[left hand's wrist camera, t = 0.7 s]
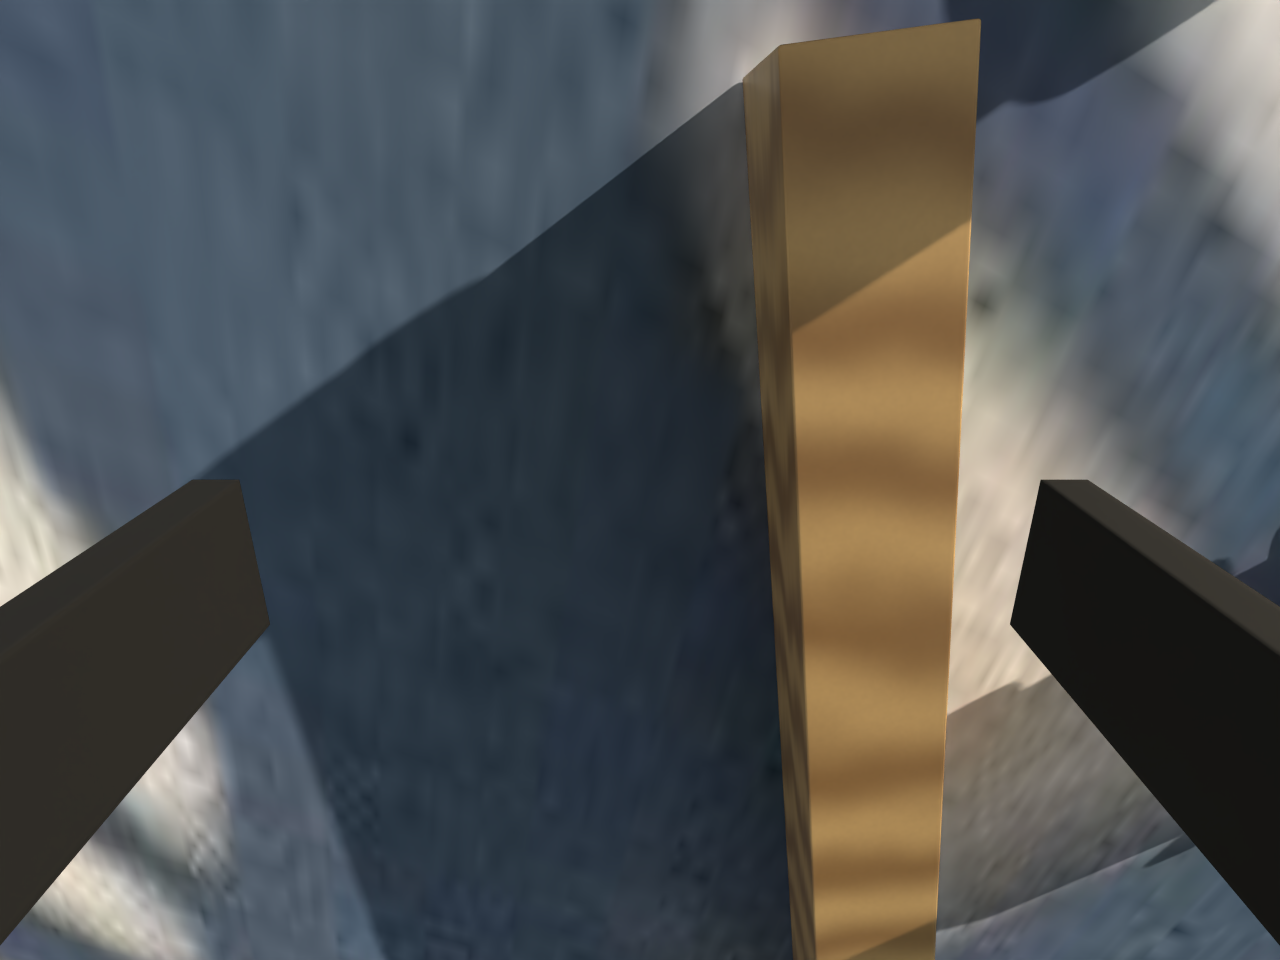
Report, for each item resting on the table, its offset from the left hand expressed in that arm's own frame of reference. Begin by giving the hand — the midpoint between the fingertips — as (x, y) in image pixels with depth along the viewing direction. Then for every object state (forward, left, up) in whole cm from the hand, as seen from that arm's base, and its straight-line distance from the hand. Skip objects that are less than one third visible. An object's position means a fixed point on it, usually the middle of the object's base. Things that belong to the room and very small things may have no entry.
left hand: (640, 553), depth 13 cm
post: (+20, +12, -21) cm, 31 cm away
